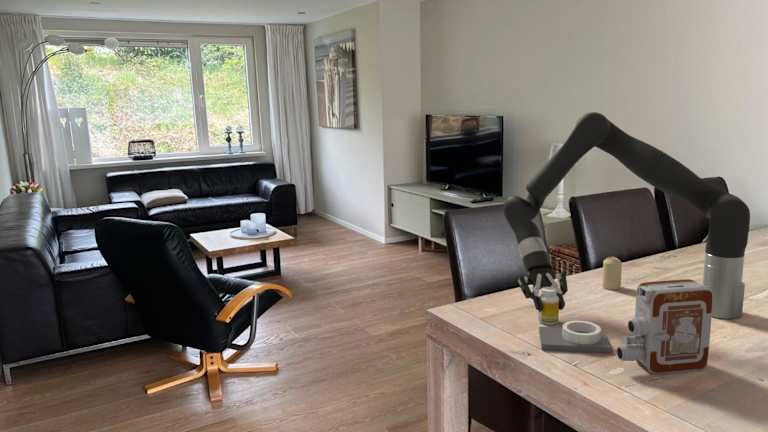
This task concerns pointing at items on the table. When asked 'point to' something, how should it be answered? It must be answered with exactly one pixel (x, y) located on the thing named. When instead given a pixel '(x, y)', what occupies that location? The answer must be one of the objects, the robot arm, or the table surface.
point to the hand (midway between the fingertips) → (551, 309)
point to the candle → (612, 273)
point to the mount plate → (564, 345)
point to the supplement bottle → (549, 306)
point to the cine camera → (670, 327)
